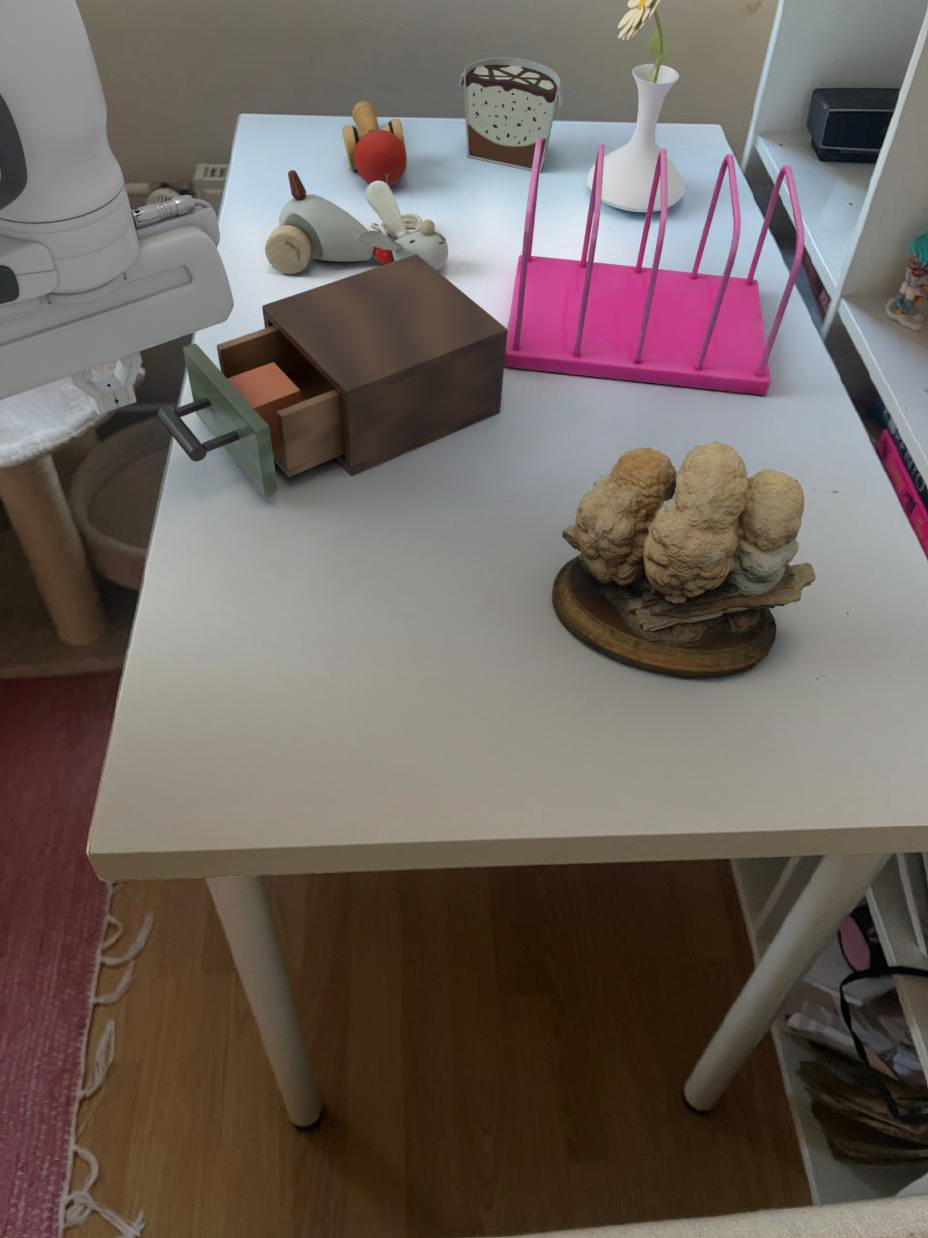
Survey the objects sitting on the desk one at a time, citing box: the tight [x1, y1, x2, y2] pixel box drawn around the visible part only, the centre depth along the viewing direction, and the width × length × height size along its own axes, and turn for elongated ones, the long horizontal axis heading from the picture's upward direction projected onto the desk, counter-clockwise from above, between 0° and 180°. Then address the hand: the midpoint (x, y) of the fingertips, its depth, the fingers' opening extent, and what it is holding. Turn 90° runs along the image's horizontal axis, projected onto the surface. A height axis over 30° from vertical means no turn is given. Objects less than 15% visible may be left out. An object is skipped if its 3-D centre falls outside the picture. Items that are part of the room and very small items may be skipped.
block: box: [228, 362, 301, 446], centre depth 83 cm, size 4×4×4 cm
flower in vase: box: [586, 0, 685, 213], centre depth 108 cm, size 13×11×25 cm
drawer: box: [157, 325, 345, 498], centre depth 84 cm, size 19×13×7 cm, turn 126°
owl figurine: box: [551, 441, 817, 679], centre depth 70 cm, size 18×12×17 cm, turn 75°
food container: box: [458, 57, 564, 174], centre depth 119 cm, size 12×6×10 cm, turn 71°
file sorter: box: [504, 138, 805, 396], centre depth 94 cm, size 17×25×16 cm
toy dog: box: [264, 169, 449, 275], centre depth 103 cm, size 12×19×9 cm, turn 104°
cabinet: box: [261, 254, 508, 477], centre depth 88 cm, size 16×14×9 cm
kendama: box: [341, 100, 408, 187], centre depth 119 cm, size 8×6×18 cm
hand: (114, 404), depth 75 cm, fingers closed
